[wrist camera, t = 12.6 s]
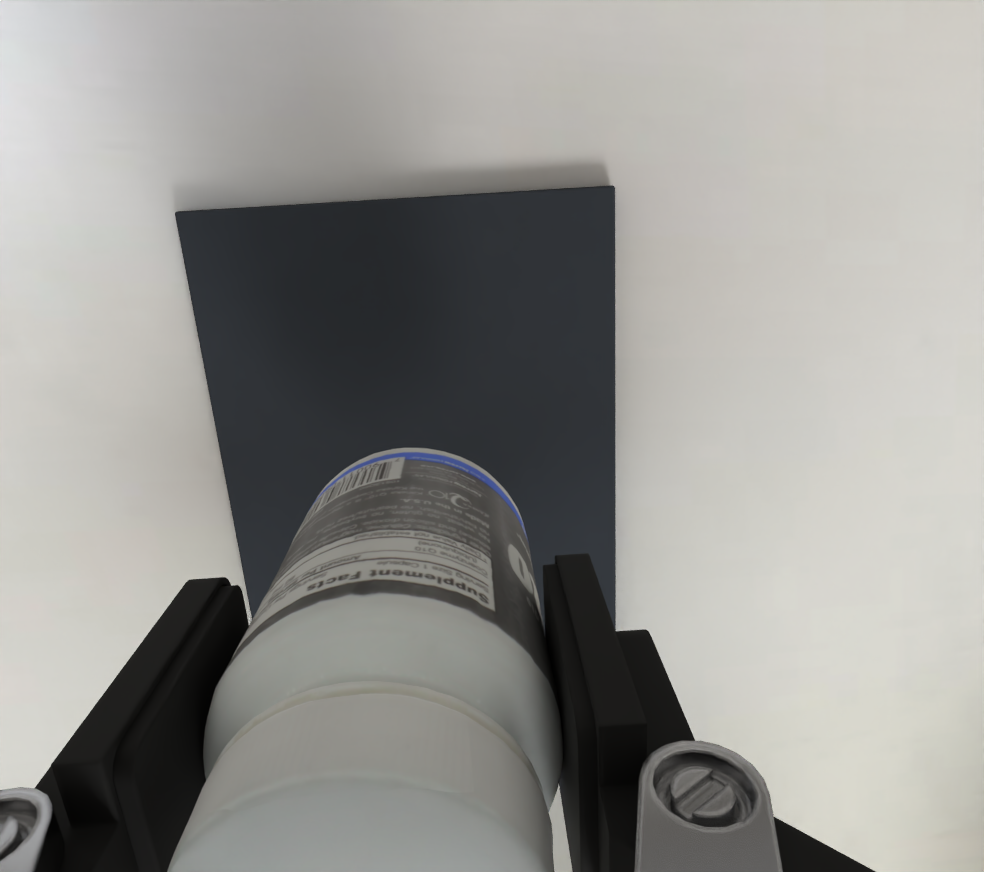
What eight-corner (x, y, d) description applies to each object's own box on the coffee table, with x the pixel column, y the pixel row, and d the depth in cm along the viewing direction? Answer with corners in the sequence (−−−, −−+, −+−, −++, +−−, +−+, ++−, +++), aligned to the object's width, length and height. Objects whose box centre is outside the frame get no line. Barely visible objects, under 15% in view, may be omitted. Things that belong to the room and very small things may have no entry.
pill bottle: (514, 648, 16) (563, 1105, 8) (301, 634, 15) (126, 1094, 8) (541, 450, 14) (635, 765, 6) (306, 430, 14) (95, 732, 6)
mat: (180, 211, 16) (173, 211, 16) (611, 185, 16) (615, 185, 16) (274, 710, 21) (271, 720, 20) (613, 687, 21) (615, 696, 20)
